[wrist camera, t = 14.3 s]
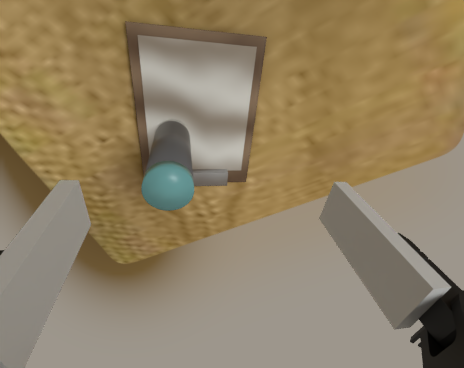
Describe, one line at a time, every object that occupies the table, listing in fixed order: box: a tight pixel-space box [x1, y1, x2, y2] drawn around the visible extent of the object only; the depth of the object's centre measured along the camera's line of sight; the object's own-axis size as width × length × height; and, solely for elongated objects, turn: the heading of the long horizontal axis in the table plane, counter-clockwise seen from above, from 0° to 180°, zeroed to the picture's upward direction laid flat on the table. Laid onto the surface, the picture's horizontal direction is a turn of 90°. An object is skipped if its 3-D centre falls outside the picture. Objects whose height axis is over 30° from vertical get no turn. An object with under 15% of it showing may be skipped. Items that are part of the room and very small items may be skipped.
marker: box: [142, 119, 194, 210], centre depth 24 cm, size 4×4×12 cm
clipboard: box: [125, 21, 267, 186], centre depth 28 cm, size 18×14×2 cm
